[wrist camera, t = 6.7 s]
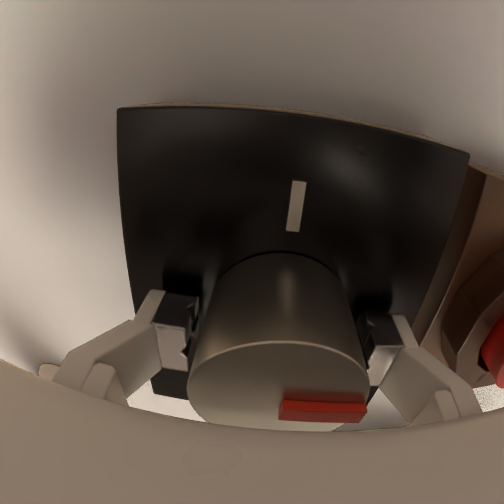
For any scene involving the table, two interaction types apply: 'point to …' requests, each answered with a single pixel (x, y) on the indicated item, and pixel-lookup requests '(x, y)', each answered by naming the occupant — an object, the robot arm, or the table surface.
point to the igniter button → (495, 352)
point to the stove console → (281, 203)
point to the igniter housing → (467, 281)
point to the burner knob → (279, 349)
